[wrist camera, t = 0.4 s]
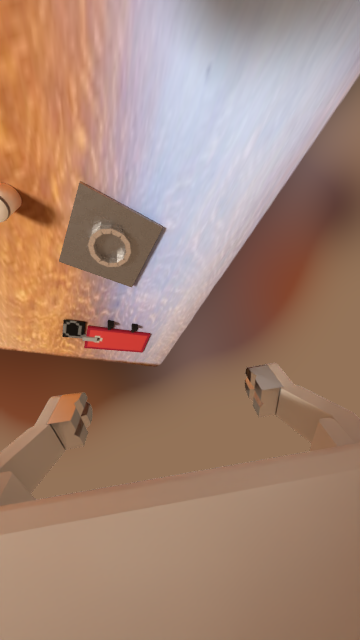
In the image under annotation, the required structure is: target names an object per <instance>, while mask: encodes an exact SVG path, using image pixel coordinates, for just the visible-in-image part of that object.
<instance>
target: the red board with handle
mask: <svg viewBox="0 0 360 640" xmlns="http://www.w3.org/2000/svg"><path fill="white" fill-rule="evenodd" d="M85 323H86V322H78V321H70V320H64V323H63V337H72V338H82V339H83V341H85V346H84V348H92V349H105V350H118V351H131V352H143V350H144V348H145V346H146V344H147V341H148V339H149V337H150V333H144V332H137V330H138V326H137V324H132V330H131V331H129V330H121V329H112V328H113V327H114V321H111V320H108V328H104V327H96V326H88V329H87V334H84V329H85ZM97 338H100V339H97Z"/></svg>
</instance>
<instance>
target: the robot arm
mask: <svg viewBox="0 0 360 640" xmlns="http://www.w3.org/2000/svg"><path fill="white" fill-rule="evenodd" d="M245 373H246V376H247V378H246V379H245V389H246V392H247V395H248V397H249V399H251V400H253V407H254V409H255V411H256V413H257V415H258V417H264V416H271V415H276V416H277V417H278V418H280V419H281V420H282V421H283V422H285V423H286V424H287V425H288V426H290V427H291V428H292V429H293V430H295V431H296V432H297V433H299V434H300V435H301V436H302V437H304V438H305V439H306V440H308V441H309V442H310V443H311V447H310V450H309V451H308V452H303V453H297V454H291V455H286V456H280V457H274V458H269V459H263V460H257V461H252V462H246V463H241V464H235V465H230V466H224V467H218V468H212V469H206V470H201V471H195V472H189V473H185V474H178V475H173V476H167V477H161V478H156V479H150V480H144V481H139V482H133V483H128V484H122V485H117V486H110V487H105V488H99V489H93V490H88V491H83V492H76V493H71V494H65V495H59V496H54V497H48V498H43V499H37V500H36V499H35V498H34V497H33V496H32V494H31V493H32V492H33V490H34V489H35V488H36V487H37V485H38V484H39V483H40V482H41V480H42V479H43V478H44V477H45V475H46V474H47V473H48V472H49V471H50V469H51V468H52V466H54V464H55V463H56V462H57V460H58V459H59V458H60V457H61V456H62V454H63V453H64V452H65V450H66V449H71V448H77V447H82V446H84V444H85V441H86V438H87V435H88V431H87V429H86V428H87V427H88V426H89V425H90V424H91V421H92V407H91V405H90V404H89V403H88V402H86V401H87V396H86V394H85V393H75V394H67V395H61V396H53V397H51V398H50V399H49V400H48V402H47V404H46V406H45V408H44V409H43V411H42V413H41V415H40V417H39V419H38V420H37V422H36V424H35V426H34V427H31V428H29V429H28V430H27V431H25V432H24V433H23V434H22V435H21V436H20V437H18V438H17V439H16V440H15V441H13V442H12V443H11V444H10V445H9V446H7V447H6V448H5V449H4V450H3V451H1V452H0V640H360V419H359V418H358V417H357V416H356V415H355V414H354V413H353V412H351V411H349V410H347V409H345V408H343V407H341V406H339V405H337V404H335V403H333V402H331V401H329V400H327V399H325V398H323V397H321V396H319V395H317V394H315V393H313V392H311V391H309V390H307V389H305V388H303V387H301V386H299V385H294V384H293V382H292V381H291V380H290V379H289V378H288V376H287V375H286V374H285V373H284V372H283V370H282V369H281V368H280V367H279V365H278V364H277V363H271V364H266V365H259V366H253V367H247V368H246V372H245Z"/></svg>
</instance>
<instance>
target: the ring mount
mask: <svg viewBox="0 0 360 640" xmlns="http://www.w3.org/2000/svg"><path fill="white" fill-rule="evenodd" d="M162 228H163V227H162V225H160V224H158V223H156V222H154V221H152V220H151V219H149V218H147V217H145V216H143V215H141V214H140V213H138V212H136V211H134V210H132V209H130V208H129V207H127V206H125V205H123V204H121V203H119V202H118V201H116V200H114V199H112V198H110V197H108V196H107V195H105V194H103V193H101V192H99V191H97V190H96V189H94V188H92V187H90V186H88V185H86V184H85V183H83V182H81V181H80V183H79V187H78V190H77V194H76V198H75V202H74V206H73V210H72V213H71V217H70V221H69V225H68V229H67V232H66V236H65V240H64V244H63V248H62V252H61V255H60V259H59V262H62V263H65V264H67V265H70V266H73V267H76V268H79V269H81V270H84V271H87V272H90V273H93V274H96V275H98V276H101V277H104V278H107V279H110V280H112V281H115V282H118V283H121V284H124V285H127V286H129V287H132V286H133V284H134V282H135V280H136V278H137V277H138V275H139V273H140V271H141V269H142V267H143V265H144V263H145V261H146V259H147V257H148V255H149V253H150V251H151V250H152V248H153V246H154V244H155V242H156V240H157V238H158V236H159V234H160V232H161V230H162Z"/></svg>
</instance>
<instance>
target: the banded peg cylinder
mask: <svg viewBox="0 0 360 640" xmlns="http://www.w3.org/2000/svg"><path fill="white" fill-rule="evenodd" d="M21 204H22V200H21V196H20V194H19V193H18V192H17V190H16V189H14V188H13V187H12V186H10V185H8V184H6V183H0V222H3V221H5V220H6V219H8V218H9V216H10V215H12V214H13V213H14V212H15V211H16V210H17V209H18V208H19V207H20V206H21Z"/></svg>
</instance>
